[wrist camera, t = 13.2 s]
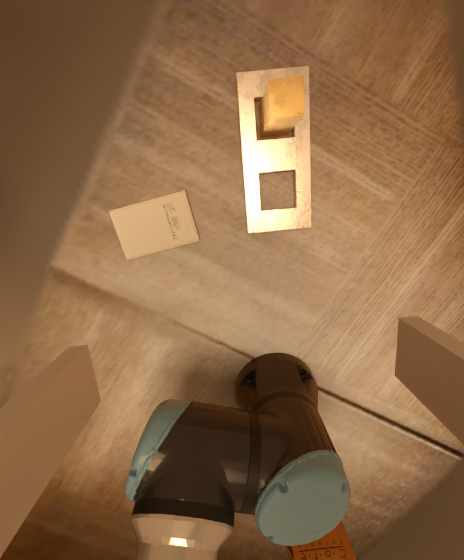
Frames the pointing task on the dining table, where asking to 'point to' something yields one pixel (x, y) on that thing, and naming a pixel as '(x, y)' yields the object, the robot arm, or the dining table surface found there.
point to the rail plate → (274, 154)
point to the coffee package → (325, 547)
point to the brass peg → (281, 106)
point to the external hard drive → (155, 225)
